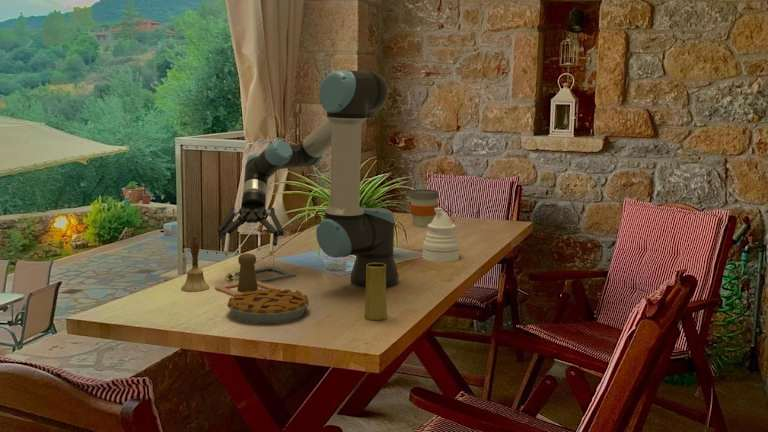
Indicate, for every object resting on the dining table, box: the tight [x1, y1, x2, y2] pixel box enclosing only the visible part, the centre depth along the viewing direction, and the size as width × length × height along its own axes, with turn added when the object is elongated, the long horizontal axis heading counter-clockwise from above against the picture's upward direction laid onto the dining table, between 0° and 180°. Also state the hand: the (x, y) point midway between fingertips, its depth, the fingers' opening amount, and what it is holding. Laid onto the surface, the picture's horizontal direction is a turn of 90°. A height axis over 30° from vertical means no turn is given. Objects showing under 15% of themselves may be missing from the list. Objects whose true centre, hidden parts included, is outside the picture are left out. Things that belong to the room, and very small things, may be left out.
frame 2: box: [234, 266, 297, 283], centre depth 258 cm, size 14×14×1 cm
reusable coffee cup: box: [409, 188, 440, 228], centre depth 348 cm, size 13×13×15 cm
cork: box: [237, 252, 259, 293], centre depth 239 cm, size 6×6×11 cm
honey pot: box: [422, 207, 460, 263], centre depth 285 cm, size 13×13×18 cm
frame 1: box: [214, 281, 281, 298], centre depth 240 cm, size 14×14×1 cm
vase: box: [364, 263, 388, 321], centre depth 213 cm, size 6×6×14 cm
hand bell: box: [180, 235, 210, 293], centre depth 240 cm, size 8×8×16 cm
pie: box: [226, 288, 310, 324], centre depth 216 cm, size 22×22×5 cm
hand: (248, 253), depth 244 cm, fingers open, 13 cm apart
